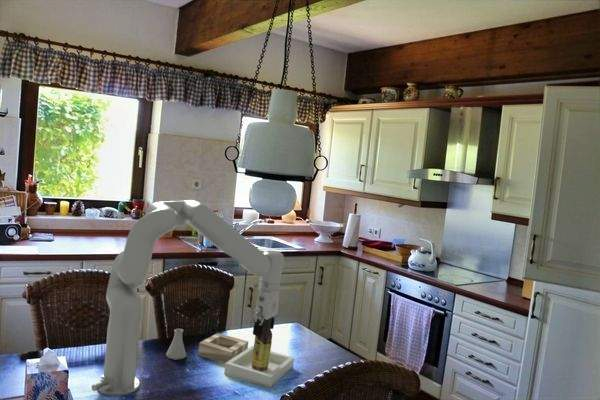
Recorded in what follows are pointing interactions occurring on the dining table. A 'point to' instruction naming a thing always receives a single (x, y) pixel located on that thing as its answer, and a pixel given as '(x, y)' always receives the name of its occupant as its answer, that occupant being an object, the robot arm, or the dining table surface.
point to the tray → (267, 378)
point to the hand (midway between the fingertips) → (263, 331)
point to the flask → (177, 346)
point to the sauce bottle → (262, 347)
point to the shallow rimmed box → (221, 347)
